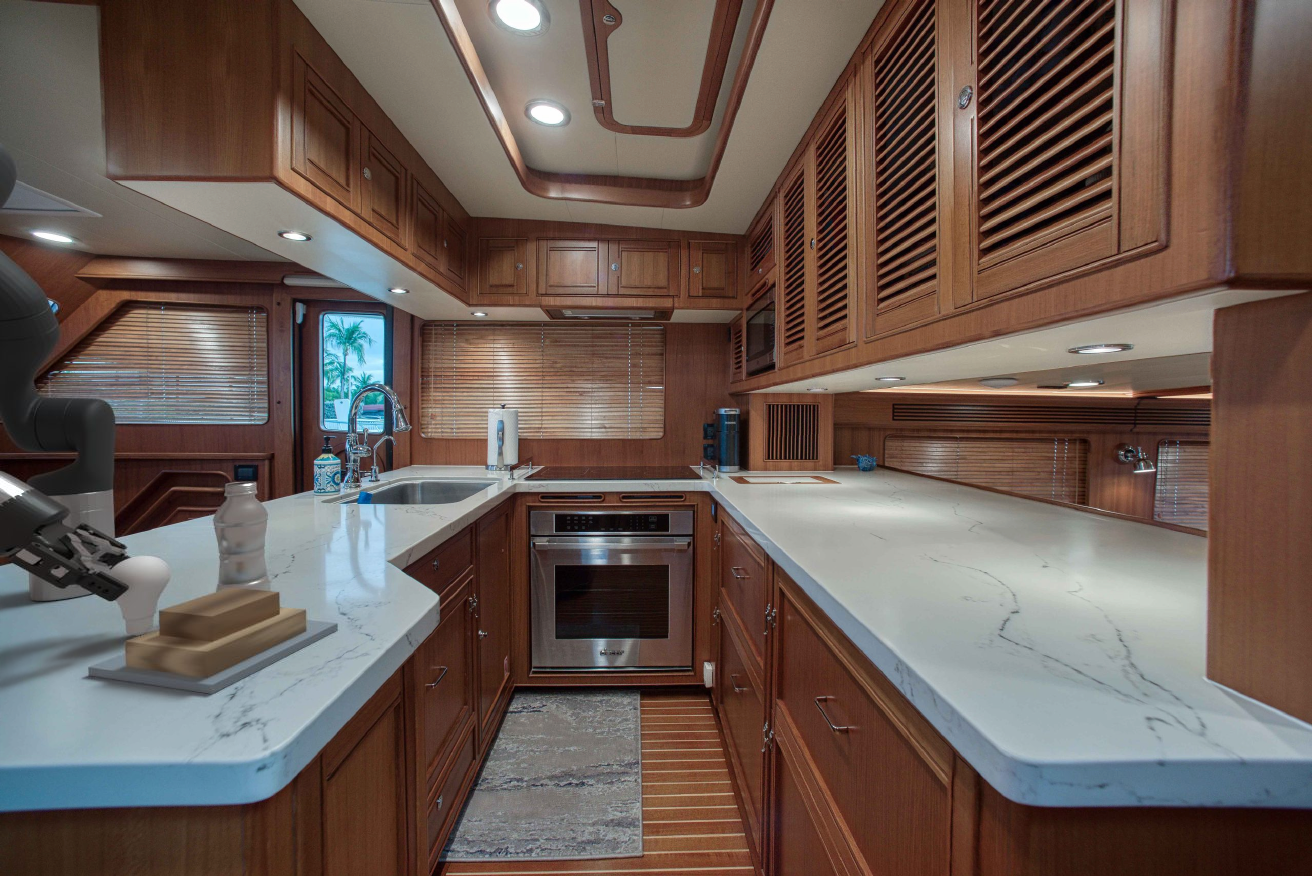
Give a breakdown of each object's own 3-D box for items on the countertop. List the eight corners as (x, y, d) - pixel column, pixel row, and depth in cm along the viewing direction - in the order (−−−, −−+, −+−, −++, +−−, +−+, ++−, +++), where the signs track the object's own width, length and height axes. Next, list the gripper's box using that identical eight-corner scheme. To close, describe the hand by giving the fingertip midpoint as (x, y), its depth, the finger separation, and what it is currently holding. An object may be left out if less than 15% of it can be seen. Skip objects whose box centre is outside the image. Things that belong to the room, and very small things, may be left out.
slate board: (88, 675, 54) (88, 667, 54) (235, 618, 70) (235, 612, 70) (212, 694, 51) (211, 685, 51) (337, 630, 67) (337, 623, 67)
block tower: (125, 666, 55) (124, 615, 54) (235, 623, 66) (234, 581, 66) (207, 678, 52) (206, 625, 52) (306, 631, 64) (305, 588, 64)
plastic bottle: (281, 601, 77) (279, 480, 76) (241, 619, 70) (238, 486, 69) (246, 600, 77) (243, 480, 77) (202, 617, 71) (199, 485, 70)
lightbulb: (167, 621, 69) (165, 548, 68) (176, 633, 65) (174, 555, 65) (103, 637, 64) (101, 557, 63) (109, 650, 60) (106, 566, 60)
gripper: (-7, 494, 53) (143, 577, 59) (57, 481, 64) (176, 551, 71) (-85, 548, 50) (81, 628, 57) (-3, 523, 62) (126, 592, 68)
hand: (134, 585), depth 64 cm, fingers open, 8 cm apart
